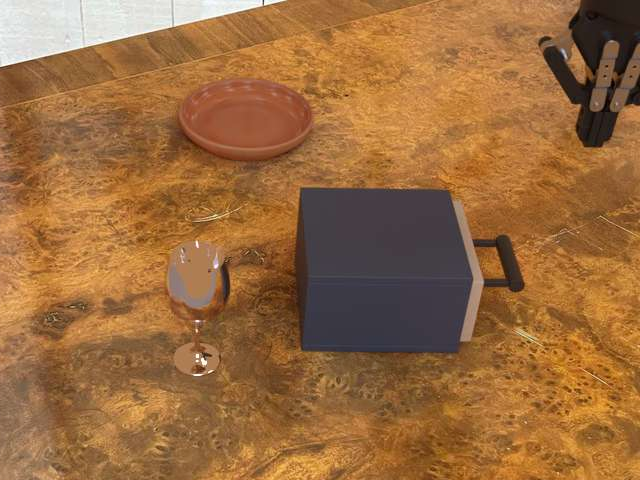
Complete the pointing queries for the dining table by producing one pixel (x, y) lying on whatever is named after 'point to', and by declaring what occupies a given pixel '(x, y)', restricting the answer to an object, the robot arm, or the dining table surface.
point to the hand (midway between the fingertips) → (590, 142)
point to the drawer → (507, 261)
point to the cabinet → (380, 270)
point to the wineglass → (197, 299)
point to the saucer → (246, 118)
